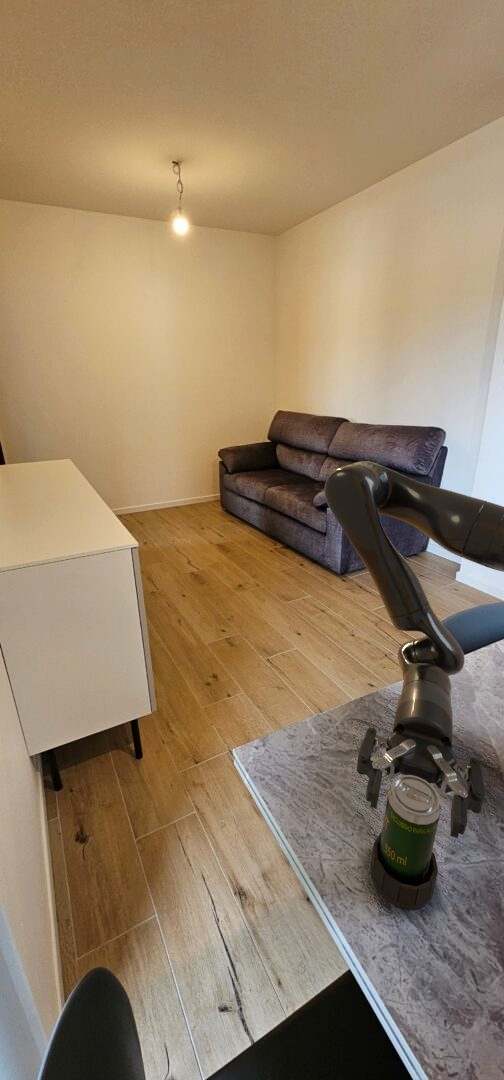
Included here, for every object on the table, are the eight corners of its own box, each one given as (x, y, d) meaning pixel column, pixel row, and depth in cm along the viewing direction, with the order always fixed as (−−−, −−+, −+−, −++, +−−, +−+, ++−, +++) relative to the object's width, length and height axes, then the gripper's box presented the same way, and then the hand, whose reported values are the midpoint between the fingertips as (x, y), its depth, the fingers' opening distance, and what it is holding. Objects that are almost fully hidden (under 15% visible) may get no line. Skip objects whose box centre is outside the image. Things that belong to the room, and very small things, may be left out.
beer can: (428, 861, 53) (444, 784, 49) (422, 906, 49) (439, 826, 44) (382, 841, 55) (394, 766, 51) (372, 882, 51) (384, 803, 47)
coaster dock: (427, 852, 55) (431, 833, 54) (439, 916, 48) (444, 896, 47) (368, 841, 56) (371, 823, 55) (372, 902, 49) (375, 882, 48)
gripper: (374, 684, 65) (351, 769, 51) (484, 713, 60) (492, 816, 46) (369, 726, 67) (346, 818, 53) (474, 757, 62) (478, 867, 48)
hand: (413, 817), depth 50 cm, fingers open, 8 cm apart
